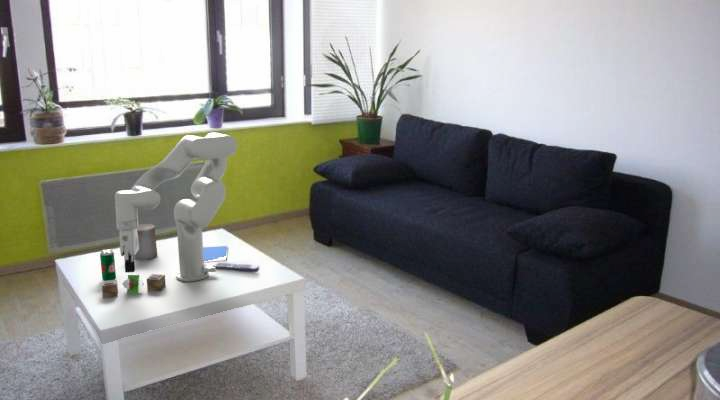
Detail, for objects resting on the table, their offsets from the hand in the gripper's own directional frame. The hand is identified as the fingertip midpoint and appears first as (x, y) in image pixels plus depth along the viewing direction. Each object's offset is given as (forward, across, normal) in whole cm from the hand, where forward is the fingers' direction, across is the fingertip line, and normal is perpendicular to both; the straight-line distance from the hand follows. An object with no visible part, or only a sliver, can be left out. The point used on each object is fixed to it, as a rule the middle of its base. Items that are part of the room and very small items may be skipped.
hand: (130, 271), depth 239 cm
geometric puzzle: (+8, +1, -1) cm, 9 cm away
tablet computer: (+8, +41, -27) cm, 49 cm away
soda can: (+8, +15, +11) cm, 20 cm away
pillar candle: (+8, +42, +2) cm, 42 cm away
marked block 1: (+9, -1, +7) cm, 11 cm away
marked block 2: (+8, +3, -9) cm, 12 cm away
